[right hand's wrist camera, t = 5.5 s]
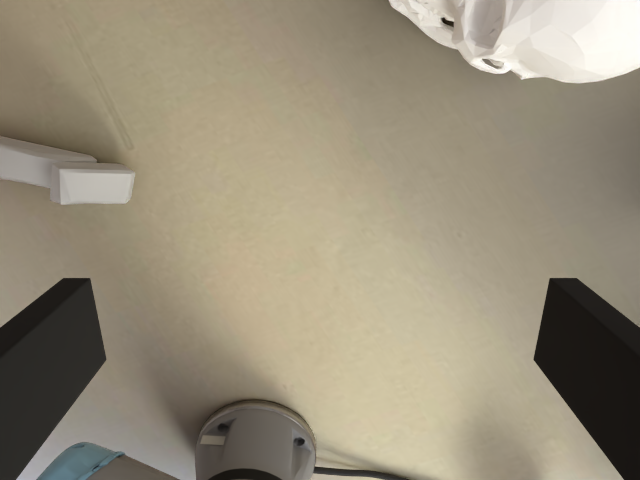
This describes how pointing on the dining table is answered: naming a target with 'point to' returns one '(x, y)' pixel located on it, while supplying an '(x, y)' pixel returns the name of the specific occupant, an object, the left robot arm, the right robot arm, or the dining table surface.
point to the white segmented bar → (65, 173)
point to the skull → (536, 35)
